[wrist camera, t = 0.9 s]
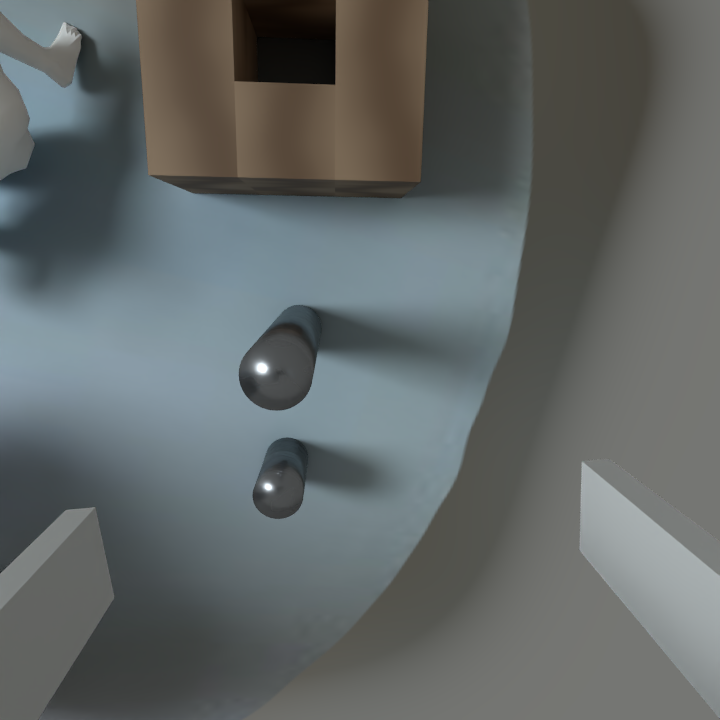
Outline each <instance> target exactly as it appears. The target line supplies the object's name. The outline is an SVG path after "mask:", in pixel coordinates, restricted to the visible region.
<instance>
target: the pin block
mask: <svg viewBox="0 0 720 720" xmlns="http://www.w3.org/2000/svg"><path fill="white" fill-rule="evenodd" d="M136 6H137V20H138V34H139V49H140V63H141V77H142V91H143V105H144V119H145V133H146V148H147V162H148V175H150V176H152V177H155V178H157V179H160V180H162V181H165V182H167V183H169V184H172V185H174V186H177V187H179V188H182V189H184V190H187V191H189V192H192V193H212V194H253V195H295V196H336V197H378V198H402V197H403V196H404V195H405V194H407V193H408V192H409V191H410V190H412V189H413V188H414V187H415V186H416V185H418V184H419V183H420V182H421V163H422V139H423V116H424V92H425V69H426V45H427V21H428V0H136ZM257 37H268V38H293V39H318V40H336V76H335V85H326V84H298V83H269V82H258V56H257Z"/></svg>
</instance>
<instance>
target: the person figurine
mask: <svg viewBox="0 0 720 720" xmlns="http://www.w3.org/2000/svg"><path fill="white" fill-rule="evenodd" d="M76 30H77V28H76V27H74V26H69V24H67V23H65V22H64V23H63V25H62V27H61V29H60V32H59V34H58V36H57V38H56V39H55V40H54V42H53V43H52V45H51V46H50V47H42V46H40V45H39V44H37V43H36V42H34V41H32V40H31V39H29V38H28V37H26V36H25V35H23V34H22V33H21V32H20V31H19V30H18V29H17V28H16V27H15V26H14V25H13V24H12V23H11V22H10V21H9V20H8V19H7V18H6V17H5V16H4V15H3V14H2V13H1V12H0V52H1V53H3V54H5V55H8V56H10V57H12V58H14V59H16V60H18V61H20V62H22V63H25V64H27V65H29V66H31V67H33V68H35V69H37V70H40V71H42V72H44V73H45V74H46V75H48V76H49V77H50V78H51V79H53V80H54V81H55V82H56V83H58V84H59V85H60V86H61V87H64V88H66V87H67V86H69V85H70V84H71V83H72V80H73V76H74V71H75V67H76V62H77V59H78V56H79V52H80V49H81V39H82V35H81V34H80V33H79V31H76ZM29 120H30V118H29V115H28V112H27V109H26V106H25V104H24V102H23V99H22V97H21V94H20V92H19V90H18V89H17V87H16V86H15V85H14V84H13V83H12V82H11V80H10V79H9V78H8V77H7V76H6V75H5V74H4V72H3V69H2V67H1V64H0V181H1V180H2V179H3V178H5V177H6V176H8V175H9V174H11V173H13V172H16V171H20V170H23V169H26V168H27V166H28V163H29V160H30V157H31V154H32V151H33V149H34V146H35V143H34V141H33V139H32V137H31V135H30V133H29V131H28V125H29Z"/></svg>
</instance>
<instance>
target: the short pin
mask: <svg viewBox="0 0 720 720" xmlns="http://www.w3.org/2000/svg"><path fill="white" fill-rule="evenodd" d="M307 465H308V452H307V450H306V448H305V446H304V445H303V444H302V443H301V442H299V441H298V440H295V439H292V438H281V439H278V440H276V441H275V442H273V443H272V444H271V445H270V446H269V448H268V450H267V453H266V456H265V458H264V461H263V464H262V467H261V470H260V473H259V476H258V479H257V481H256V484H255V487H254V490H253V501H254V504H255V506H256V508H257V509H258V510H259V511H260V512H261V513H262V514H264V515H265V516H267V517H270V518H275V519H282V518H286V517H289V516H291V515H293V514H294V513H295V512H296V511H297V510H298V509H299V508H300V506H301V504H302V501H303V495H304V487H305V480H306V473H307Z"/></svg>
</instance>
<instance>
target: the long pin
mask: <svg viewBox="0 0 720 720" xmlns="http://www.w3.org/2000/svg"><path fill="white" fill-rule="evenodd" d="M321 331H322V325H321V321H320V318H319V316H318V315H317V313H316V312H315V311H314V310H312V309H311V308H309V307H307V306H303V305H294V306H291V307H289V308H287V309H285V310H284V311H283V312H282V313H281V314H280V316H279V317H278V318H277V319H276V320H275V321H274V322H273V323H272V325H271V326H270V327H269V328H268V329H267V330H266V331H265V332H264V334H263V335H262V336H261V337H260V338H259V339H258V340H257V342H256V343H255V344H254V345H253V346H252V347H251V348H250V349H249V351H248V352H247V353H246V354H245V356H244V357H243V359H242V361H241V364H240V368H239V381H240V385H241V387H242V390H243V391H244V393H245V395H246V396H247V397H248V398H249V399H250V400H251V401H252V402H253V403H254V404H256V405H258V406H260V407H262V408H265V409H268V410H285V409H288V408H291V407H293V406H295V405H297V404H298V403H300V402H301V401H302V400H303V399H304V398H305V396H306V395H307V394H308V392H309V390H310V387H311V384H312V379H313V373H314V368H315V363H316V357H317V352H318V347H319V341H320V336H321Z"/></svg>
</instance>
